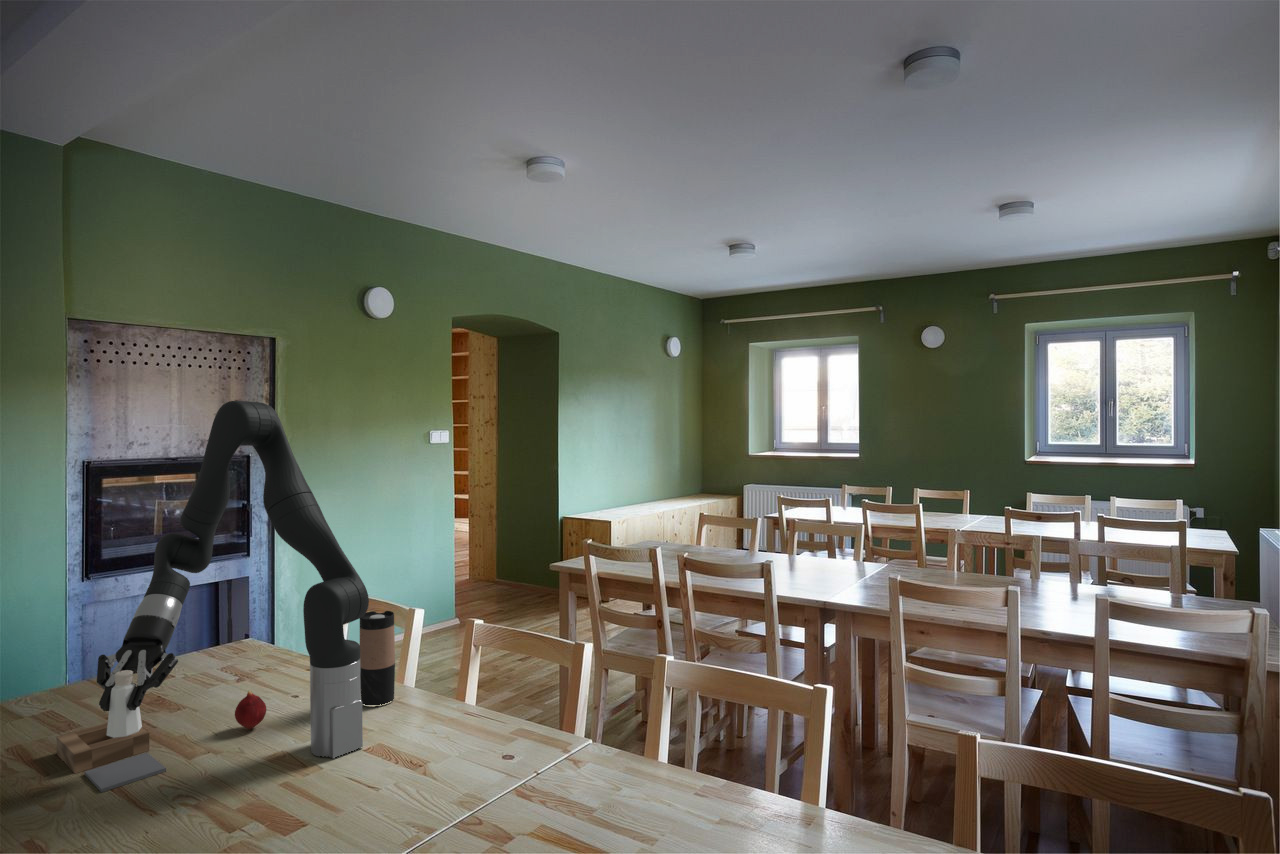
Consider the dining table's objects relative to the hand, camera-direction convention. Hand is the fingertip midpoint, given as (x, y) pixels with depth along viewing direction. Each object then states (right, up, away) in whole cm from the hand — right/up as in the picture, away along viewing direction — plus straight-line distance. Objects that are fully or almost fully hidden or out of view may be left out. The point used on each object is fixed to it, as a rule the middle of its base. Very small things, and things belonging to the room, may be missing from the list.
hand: (117, 708), depth 135 cm
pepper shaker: (0, -5, +2) cm, 6 cm away
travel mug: (+34, -12, +36) cm, 51 cm away
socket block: (-10, -12, +10) cm, 19 cm away
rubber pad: (0, -13, +2) cm, 13 cm away
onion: (+13, -12, +21) cm, 28 cm away
